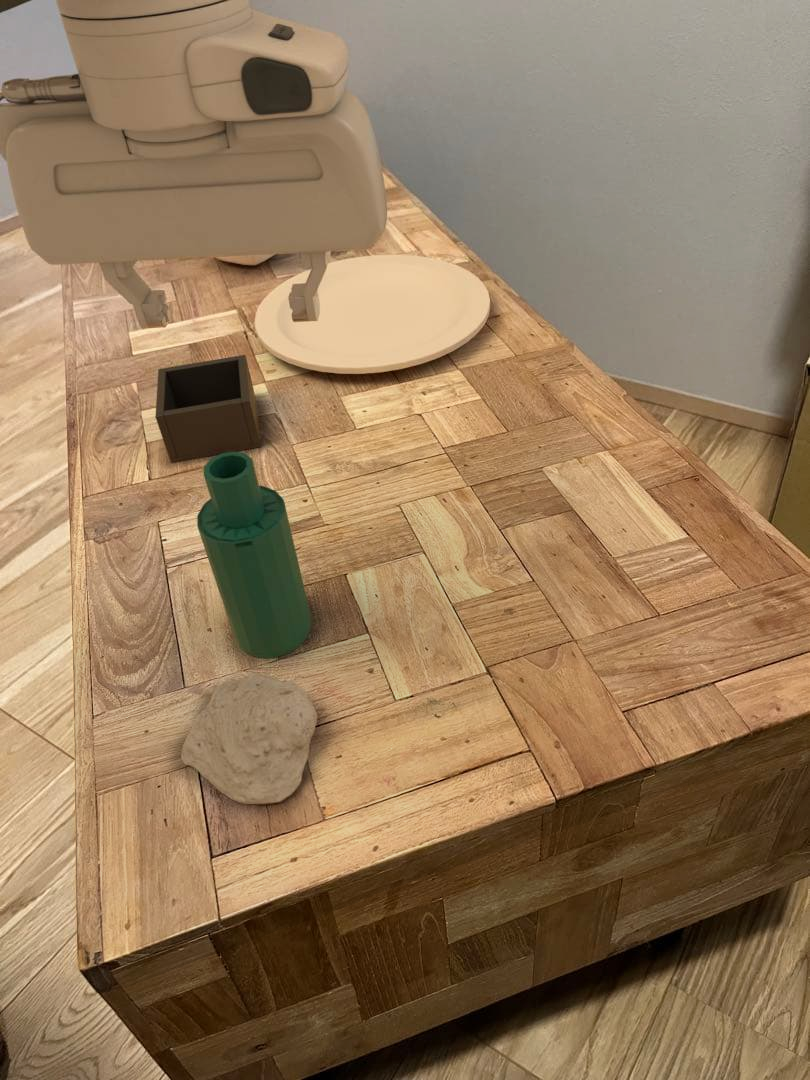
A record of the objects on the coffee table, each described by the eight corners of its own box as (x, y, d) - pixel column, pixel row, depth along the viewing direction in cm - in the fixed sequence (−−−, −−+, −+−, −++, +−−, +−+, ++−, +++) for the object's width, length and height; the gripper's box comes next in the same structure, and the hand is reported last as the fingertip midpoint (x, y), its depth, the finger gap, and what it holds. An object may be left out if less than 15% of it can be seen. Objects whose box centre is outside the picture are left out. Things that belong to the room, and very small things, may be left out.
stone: (167, 679, 58) (297, 633, 57) (198, 715, 61) (322, 672, 60) (157, 802, 51) (306, 752, 50) (193, 836, 54) (335, 789, 53)
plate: (214, 367, 95) (209, 349, 93) (320, 262, 113) (317, 246, 112) (444, 402, 86) (443, 383, 84) (518, 282, 104) (518, 265, 103)
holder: (170, 462, 82) (155, 416, 78) (172, 413, 88) (158, 368, 84) (261, 447, 82) (249, 400, 79) (255, 399, 89) (245, 354, 85)
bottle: (236, 665, 62) (181, 503, 51) (233, 608, 66) (182, 447, 56) (315, 649, 63) (277, 486, 52) (307, 593, 67) (270, 432, 56)
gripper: (-56, 99, 40) (49, 353, 49) (364, 70, 38) (390, 340, 47) (-1, 65, 44) (85, 303, 54) (376, 38, 42) (397, 289, 52)
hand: (231, 320), depth 50 cm, fingers open, 8 cm apart
